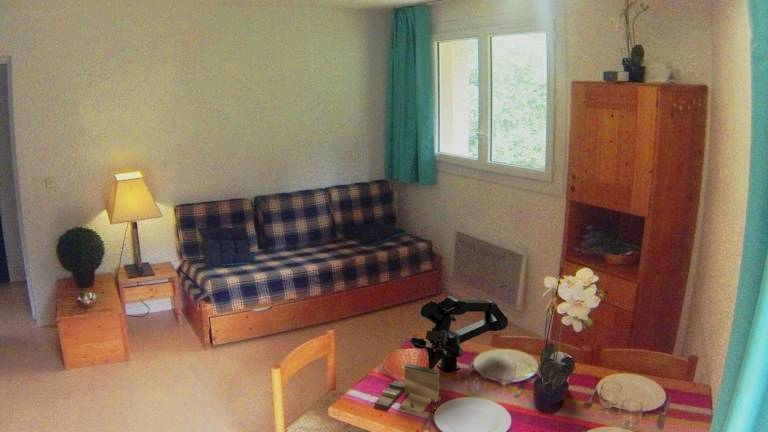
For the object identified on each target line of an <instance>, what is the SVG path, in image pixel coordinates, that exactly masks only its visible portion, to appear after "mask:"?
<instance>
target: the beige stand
mask: <svg viewBox="0 0 768 432" xmlns="http://www.w3.org/2000/svg"><path fill="white" fill-rule="evenodd" d="M404 383H405V390H404V395H406V396H407V397H406V398H405V399H404V400H403V401H402V402H401V404H400V405H399V409H401V410H406V411H409V412H412V413H416V414H423V413H424V412H425V411H426V409H427V408H428V406H429V405H430V404H431V402H434V401H436V402H435V403H438V402H439V400H440V370H439V369H434V368H433V369H430V368H429V367H425V366H421V365H418V364H412V363H405V365H404ZM437 401H438V402H437Z"/></svg>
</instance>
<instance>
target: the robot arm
mask: <svg viewBox="0 0 768 432" xmlns="http://www.w3.org/2000/svg"><path fill="white" fill-rule="evenodd" d="M470 312H472V313H473V312H479V313H480V312H481V313H482V312H483V314H484V316H483V318H482V319H480V320H479V321H476V322H474V323H472V324H469V325H467V326H465V327H463V328H460V329H457V330H456V331H453V330H452V329H451V325H452V323H454V322H455V323H456V322H457V319H456V316H461V315H464V314H466V313H470ZM420 315H421V316H422V317H423V318H424V319H426V320H427V321H429V322H431V324H434V326H433V327H432V328H431V330H429V329H428V330H426V334H425V339H424V338H423V337H420V336H412V337H411V339H410V342H409V343H410V344H411V346H413V347H414V348H415V349H420V350H425V351H426V352H427V356H428V357H427V358H428V368H430V369H434V368H435V366H437V364H439V365H438V366H437V367H438V368H440V369H441V370H442V371H444V372H445V373H449V372H453V371H455V370H459V369H460V368H461V366H460V365H458V358H462V357H463V354H464V350H463V349H462V347H461V344H463V343H465V342H467V341H469V340H472V339H474V338H477V337H478V336H481V335H483V334H485V333H488V332H500V331H504V330H505V329H506V328H507V327H508V325H509V323H508V322H509V319H508V317H507V316H506V315H505V314H504V313H503V311H502V310H501V309H500V308H499V306H498V305H497V303H496V302H494V301H493V300H491V299H463V298H460V297H457V296H453V295H447V296H446V297H445V298H444V299H442V300H440V301H439V302H436V301H434V300H432V299H431V300H430V301H429V302H426V303H425V304H424V305H422V306H421V309H420ZM425 340H427V341H425ZM439 362H440V363H439Z"/></svg>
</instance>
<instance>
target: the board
mask: <svg viewBox="0 0 768 432" xmlns="http://www.w3.org/2000/svg"><path fill="white" fill-rule="evenodd" d="M403 392H405V381H404V382H403V381H399V380H394V381H392V382H389V384H388V387H387V388H386V389H384V390H382V393H381V395H380V396H379V397H378V399H376V401H375V402H374V407H377V408H382V409H384V410H389V409H390V408H391V407H392V405H393V404H394V403H395V402H396V401H397V399H398V398H399V397H400V396H401V395H402V393H403Z"/></svg>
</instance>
